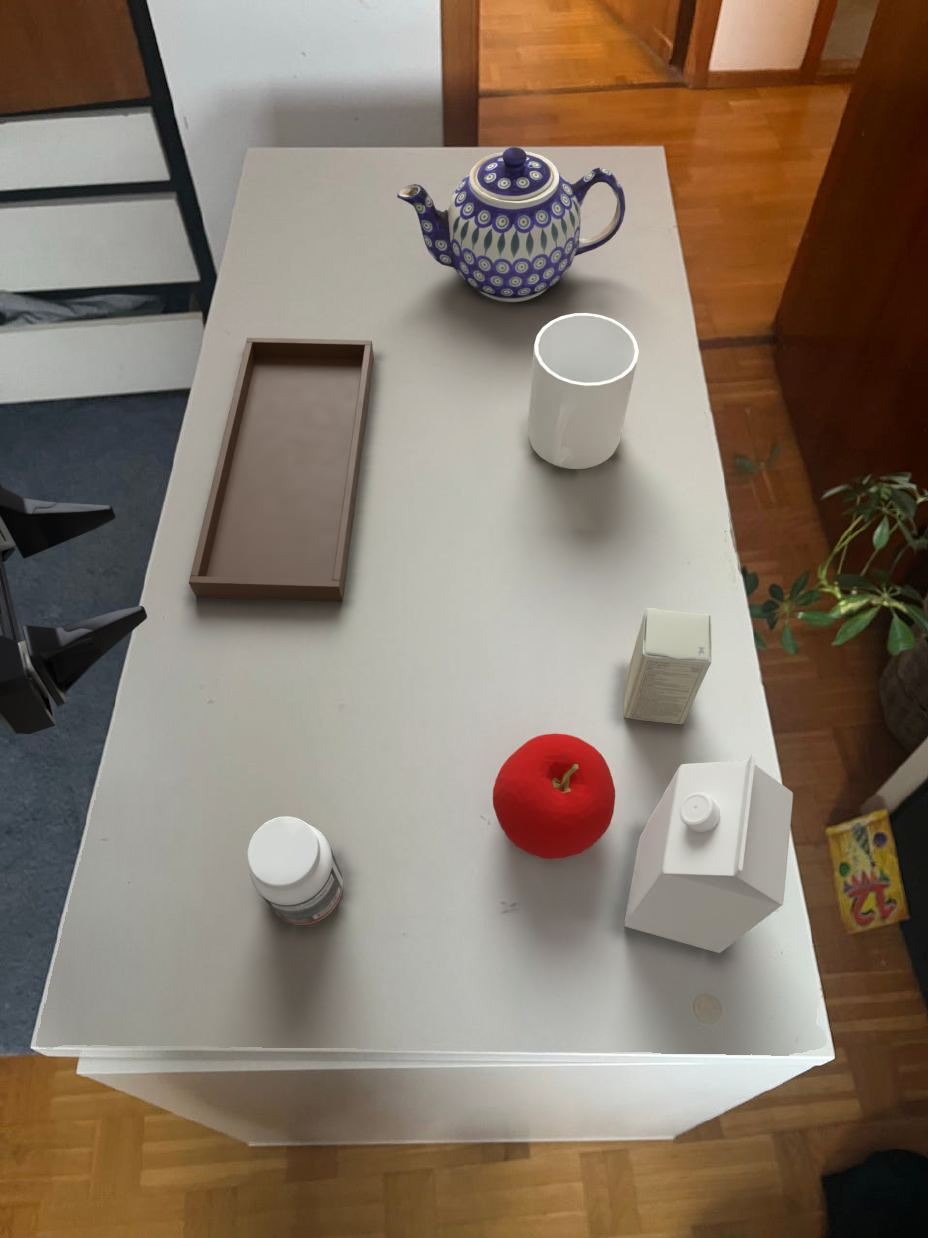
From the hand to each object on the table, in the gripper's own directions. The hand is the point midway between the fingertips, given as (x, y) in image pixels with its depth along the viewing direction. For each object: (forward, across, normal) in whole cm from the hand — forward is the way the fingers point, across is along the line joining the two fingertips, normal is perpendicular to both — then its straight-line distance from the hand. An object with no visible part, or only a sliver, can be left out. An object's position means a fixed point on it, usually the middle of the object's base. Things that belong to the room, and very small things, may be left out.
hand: (129, 559), depth 60 cm
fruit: (+24, -23, +16) cm, 37 cm away
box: (+36, -18, +14) cm, 43 cm away
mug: (+44, +10, +14) cm, 47 cm away
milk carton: (+30, -33, +15) cm, 47 cm away
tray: (+17, +19, +16) cm, 30 cm away
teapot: (+50, +36, +13) cm, 63 cm away
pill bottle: (+4, -21, +18) cm, 28 cm away
